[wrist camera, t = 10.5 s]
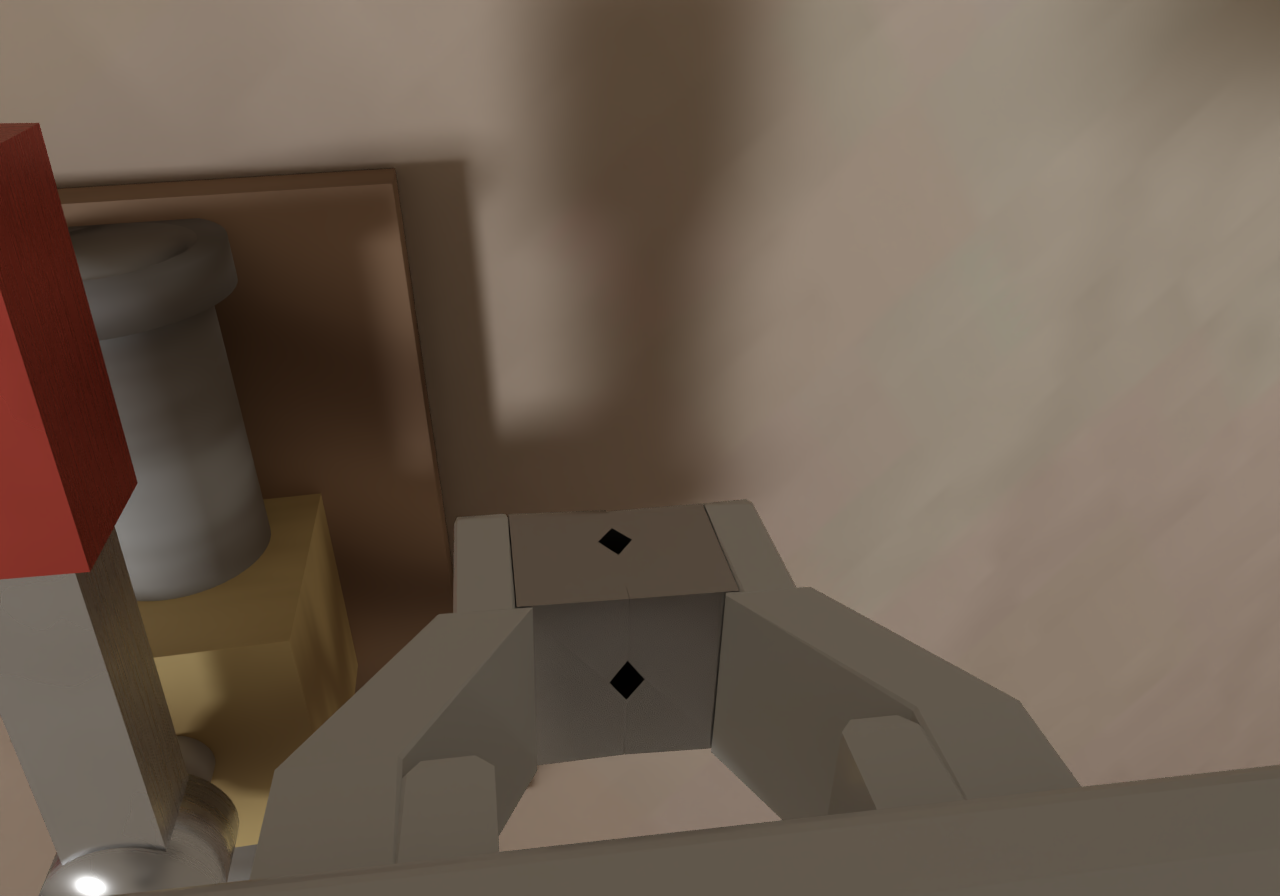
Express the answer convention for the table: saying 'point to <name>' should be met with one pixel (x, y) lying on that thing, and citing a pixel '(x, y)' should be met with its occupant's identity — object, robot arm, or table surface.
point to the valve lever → (80, 582)
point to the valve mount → (266, 451)
